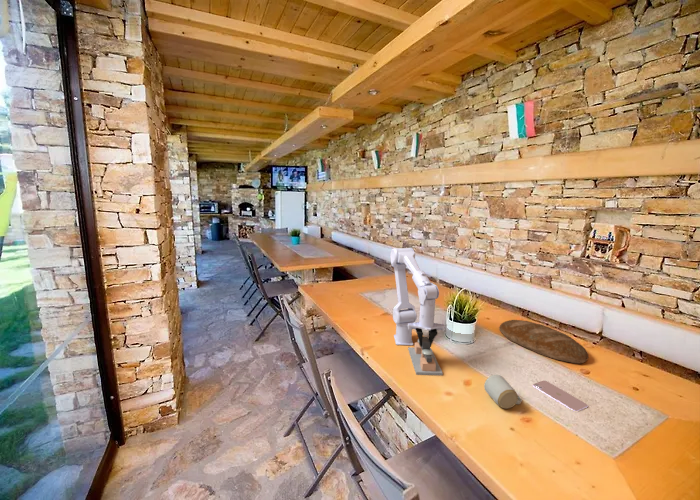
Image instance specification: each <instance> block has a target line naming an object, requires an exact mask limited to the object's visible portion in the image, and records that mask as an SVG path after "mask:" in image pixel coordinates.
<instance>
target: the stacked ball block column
mask: <svg viewBox="0 0 700 500" xmlns="http://www.w3.org/2000/svg"><path fill="white" fill-rule="evenodd" d="M417 342H418V343H419V339H417ZM421 348H422V353H423V354H424V356H425V359H426V361H427V362H432V357H431V355H432V354H433V353H434V351H433V350H432V351H433V352H432V351H431V350H430V348H431V347H430V340H429V336H423V337H422V347H421Z"/></svg>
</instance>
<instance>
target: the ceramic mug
mask: <svg viewBox="0 0 700 500" xmlns="http://www.w3.org/2000/svg"><path fill="white" fill-rule="evenodd" d="M483 387H484V390H485V392H486V394H488V396H489V397H490V398H491V399H493V401H494V403H495V404H496V405H498V407H500V408H501V409H511V408H512V407H514V406H515V405H521V403H522V401H523V400H522V398H521V396H519V395H518V393H517V391H516V390H515V389H514V387H513V386H511V385H510V383H509V382H508V381H507V380H506V379H505V378H504V377H503V376H502V375H501V374H492V375H490V376H488V377H487V379H486V380H485V382H484V384H483Z"/></svg>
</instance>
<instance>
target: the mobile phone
mask: <svg viewBox="0 0 700 500" xmlns="http://www.w3.org/2000/svg"><path fill="white" fill-rule="evenodd" d="M532 387H533V388H534V389H535V390H538V392H539V391H540V392H541V393H542V394H544V395H546V396H547V397H549V398H551V400H554V401H555V402H556V403H558V402H559V403H558V404H560V405H562V406H563V405H564V406H563V407H565V408H567V409H568V408H569V410H570V409H571V410H573V411H572V412H574V411H579V410H581V411H583V410H582V409H584V408H586V409H588V408H589V405H588V404H587V403H586V402H584V401H583V400H580V399H579V398H578V397H575V396H574V395H572V394H570V393H568V392H567V391H565V390H563V389H561V388H559V387H558V386H556V385H554V384H553V383H550V382H549V381H547V380H541V381H538V382H535V383H533V384H532ZM587 407H588V408H587ZM571 410H570V411H571ZM584 410H585V409H584ZM579 412H580V411H579Z"/></svg>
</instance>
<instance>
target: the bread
mask: <svg viewBox="0 0 700 500" xmlns="http://www.w3.org/2000/svg"><path fill="white" fill-rule="evenodd" d="M498 329H499V331H500V333H501V334H503V336H504V337H505V338H507V339H508V341H509V340H510V341H511V342H513V343H515V344H516V345H519V346H521V347H523V348H525V349H528V350H530V351H532V352H534V353H537V354H540V355H542V356H544V357H548V358H550V359H553V360H557V361H560V362H561V361H562V362H567V363H572V364H578V365H579V364H583V363H585V362H587V361H588V359H589V353H588V351H587V350H586V348H585V347H584V346H583V345H582V344H580V343H579V342H578V341H577V340H575V338H572V337H571V336H569V335H567V334H565V333H563V332H561V331H559V330H556V329H554V328H552V327H550V326H546V325H544V324H542V323H541V324H540V323H535V322H532V321H528V320H520V319H510V320H506V321H503V322H502V323H500V325H499V327H498Z"/></svg>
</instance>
